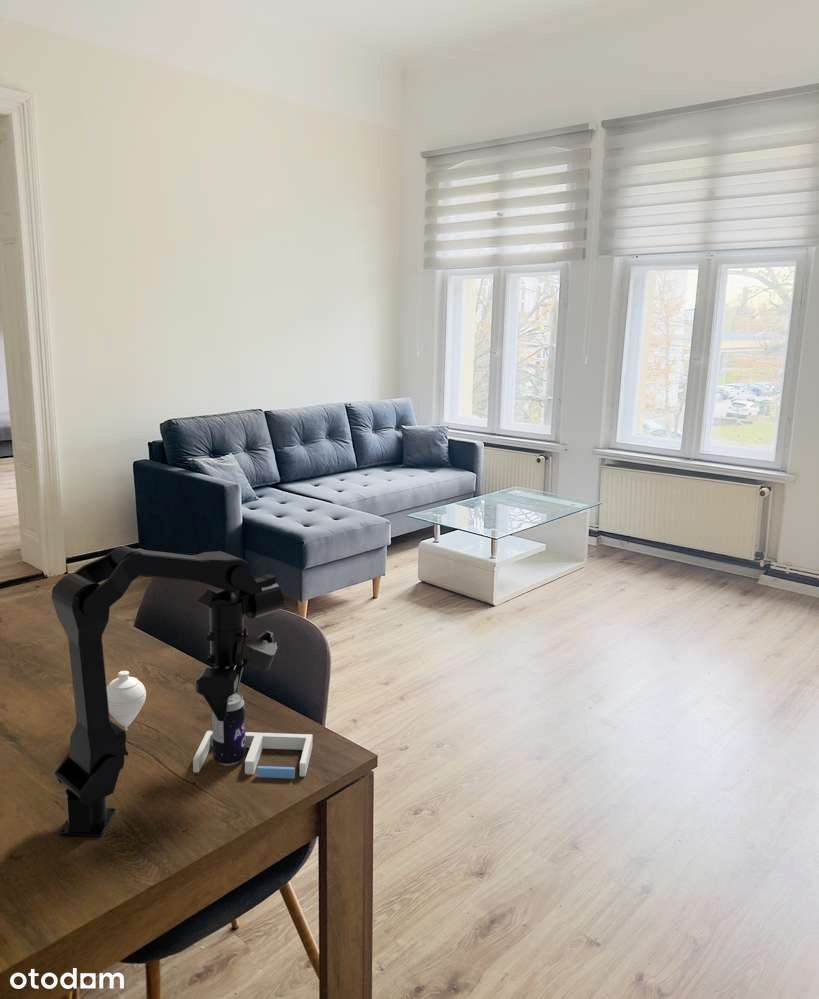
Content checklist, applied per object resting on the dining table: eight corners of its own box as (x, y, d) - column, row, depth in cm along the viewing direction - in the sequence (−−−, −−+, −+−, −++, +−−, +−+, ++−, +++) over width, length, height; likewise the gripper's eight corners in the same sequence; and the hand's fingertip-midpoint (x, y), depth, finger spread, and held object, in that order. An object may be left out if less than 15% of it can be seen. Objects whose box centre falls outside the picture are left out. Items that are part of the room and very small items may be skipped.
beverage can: (237, 770, 139) (236, 707, 136) (207, 765, 140) (206, 703, 137) (250, 753, 144) (249, 692, 142) (221, 748, 145) (220, 688, 143)
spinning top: (102, 743, 146) (99, 683, 143) (106, 722, 153) (103, 665, 150) (146, 738, 148) (144, 679, 145) (148, 718, 155) (146, 661, 152)
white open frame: (304, 779, 137) (304, 766, 136) (192, 774, 137) (191, 761, 136) (312, 746, 147) (312, 734, 147) (207, 742, 147) (207, 730, 147)
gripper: (263, 648, 127) (263, 736, 131) (282, 607, 145) (282, 685, 149) (194, 646, 127) (196, 734, 131) (221, 605, 145) (222, 683, 149)
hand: (227, 707), depth 140 cm, fingers open, 9 cm apart
